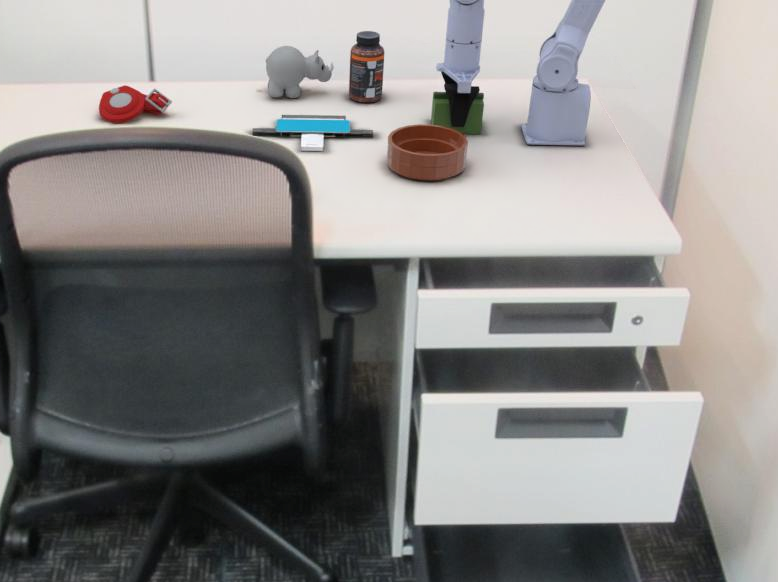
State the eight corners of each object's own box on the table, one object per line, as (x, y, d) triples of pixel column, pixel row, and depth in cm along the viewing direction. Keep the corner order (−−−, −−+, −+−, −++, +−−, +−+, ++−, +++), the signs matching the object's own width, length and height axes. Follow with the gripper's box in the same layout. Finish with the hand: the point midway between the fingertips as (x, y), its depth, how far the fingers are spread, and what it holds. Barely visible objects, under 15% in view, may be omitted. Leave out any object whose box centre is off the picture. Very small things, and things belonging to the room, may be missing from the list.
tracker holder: (104, 121, 186) (88, 88, 192) (111, 142, 190) (95, 108, 195) (172, 96, 188) (154, 64, 194) (177, 117, 191) (159, 85, 197)
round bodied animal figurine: (334, 101, 197) (335, 53, 192) (266, 101, 197) (265, 53, 192) (331, 86, 203) (333, 40, 198) (265, 87, 203) (265, 40, 198)
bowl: (461, 151, 180) (463, 124, 177) (467, 183, 170) (470, 156, 168) (385, 150, 180) (386, 123, 178) (387, 182, 170) (389, 154, 168)
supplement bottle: (379, 105, 196) (382, 40, 189) (346, 102, 197) (348, 38, 190) (384, 93, 201) (387, 30, 194) (351, 90, 202) (353, 27, 195)
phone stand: (250, 150, 180) (249, 140, 179) (254, 121, 189) (254, 112, 188) (374, 152, 180) (374, 142, 179) (372, 123, 189) (372, 114, 188)
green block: (478, 122, 190) (482, 88, 186) (481, 134, 186) (485, 99, 182) (430, 121, 190) (433, 87, 187) (432, 133, 186) (434, 98, 183)
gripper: (435, 24, 185) (429, 103, 193) (442, 53, 173) (435, 136, 181) (478, 24, 185) (470, 104, 193) (487, 54, 173) (478, 137, 181)
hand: (456, 119), depth 187 cm, fingers closed on green block, 5 cm apart
